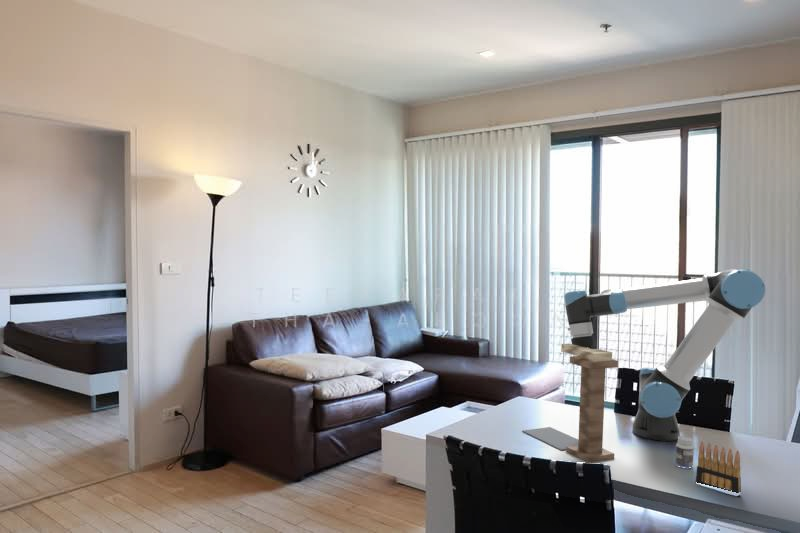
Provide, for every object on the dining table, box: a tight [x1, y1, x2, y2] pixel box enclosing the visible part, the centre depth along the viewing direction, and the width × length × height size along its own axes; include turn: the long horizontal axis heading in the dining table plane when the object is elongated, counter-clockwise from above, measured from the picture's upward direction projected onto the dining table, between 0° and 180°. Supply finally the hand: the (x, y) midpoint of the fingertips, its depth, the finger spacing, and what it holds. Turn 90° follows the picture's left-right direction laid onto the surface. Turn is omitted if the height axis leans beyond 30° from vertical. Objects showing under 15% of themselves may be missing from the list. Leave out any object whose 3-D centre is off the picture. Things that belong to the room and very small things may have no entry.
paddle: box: [560, 343, 613, 362], centre depth 180 cm, size 17×7×2 cm, turn 25°
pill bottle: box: [674, 435, 695, 469], centre depth 169 cm, size 5×5×8 cm
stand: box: [565, 355, 619, 463], centre depth 176 cm, size 10×10×30 cm
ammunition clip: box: [695, 441, 742, 493], centre depth 152 cm, size 11×2×12 cm, turn 41°
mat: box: [521, 426, 579, 452], centre depth 191 cm, size 20×12×1 cm, turn 25°
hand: (593, 399), depth 190 cm, fingers open, 13 cm apart
